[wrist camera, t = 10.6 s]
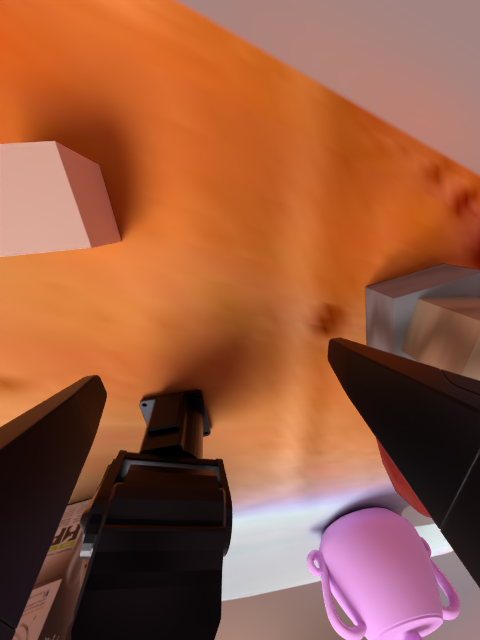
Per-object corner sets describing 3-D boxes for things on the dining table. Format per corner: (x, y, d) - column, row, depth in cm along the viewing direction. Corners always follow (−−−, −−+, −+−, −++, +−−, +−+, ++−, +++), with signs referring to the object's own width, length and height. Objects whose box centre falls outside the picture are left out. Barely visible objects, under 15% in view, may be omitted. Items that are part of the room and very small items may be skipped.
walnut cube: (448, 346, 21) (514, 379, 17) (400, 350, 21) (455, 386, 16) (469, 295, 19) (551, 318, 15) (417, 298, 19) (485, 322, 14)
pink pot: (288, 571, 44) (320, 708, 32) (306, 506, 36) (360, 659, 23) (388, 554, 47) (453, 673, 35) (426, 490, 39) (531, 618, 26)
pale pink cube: (121, 241, 17) (91, 247, 13) (54, 248, 17) (-2, 257, 12) (99, 165, 15) (54, 140, 11) (22, 170, 15) (-59, 147, 10)
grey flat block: (431, 331, 25) (469, 350, 22) (365, 352, 25) (391, 374, 22) (439, 263, 22) (485, 270, 18) (363, 286, 22) (393, 298, 18)
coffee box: (46, 510, 28) (-127, 820, 14) (96, 495, 28) (-23, 787, 14) (85, 543, 32) (-19, 814, 17) (128, 530, 32) (62, 788, 18)
